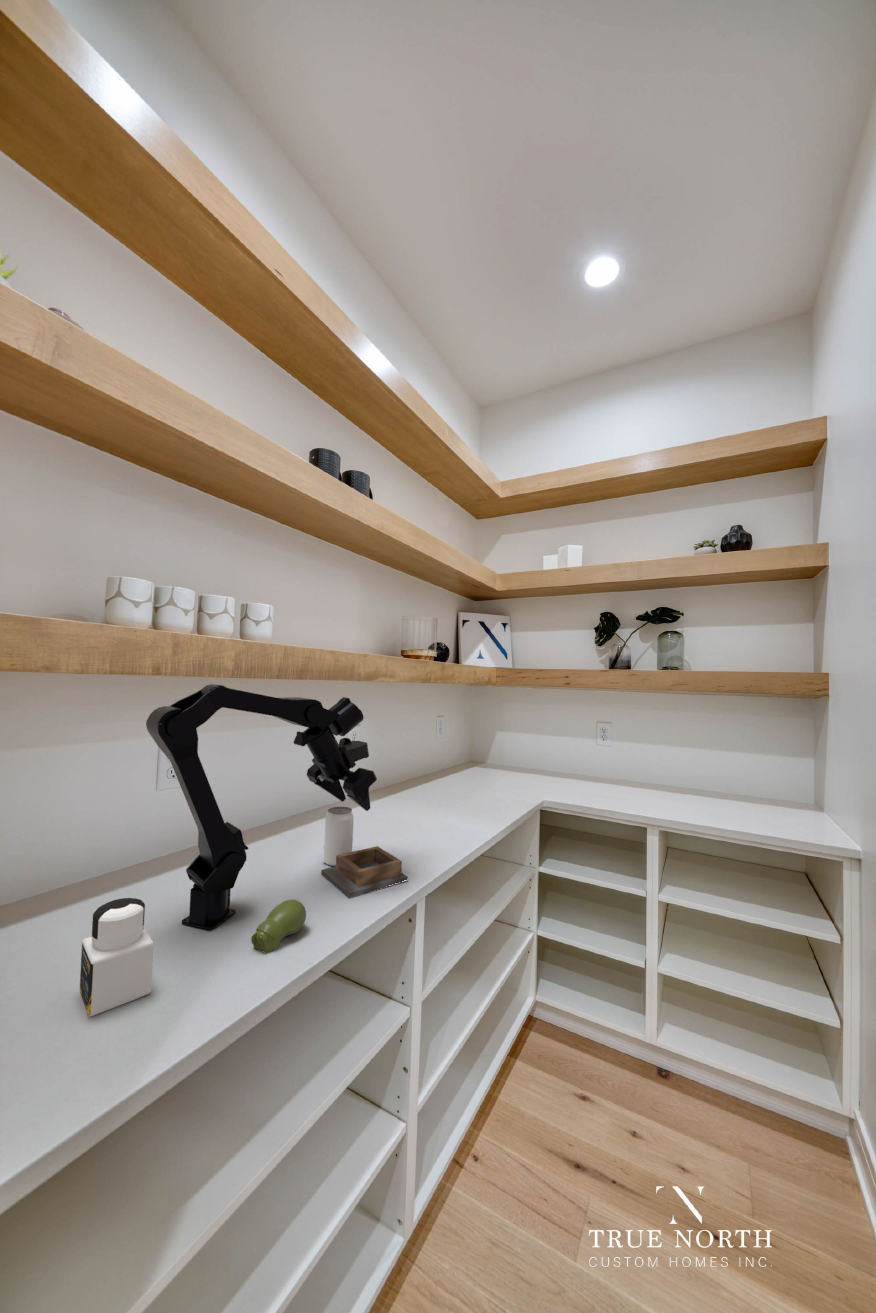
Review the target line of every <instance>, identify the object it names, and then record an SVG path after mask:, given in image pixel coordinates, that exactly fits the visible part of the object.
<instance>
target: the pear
mask: <svg viewBox="0 0 876 1313" xmlns="http://www.w3.org/2000/svg"><path fill="white" fill-rule="evenodd" d="M306 920H307V910H306V908H305V906H304V904H303V903H302V902H301V901H299V900H297V899H286V900H283V901H282V902H280V903H278V904H277V905H276V906H275V907H273V908H272V909H271V911H269V913H268V915H267V916H266V918H265V920H264V921H262V922H261V923H260V924H259V925H258V926H257V927H256V928H255V930H256V931H255V933H253V934H252V936H251V938H250V941H251V944H252V945H253V948H256V949H257V950H259V951H261V952H263V953H266V954H267V953H270V952H273V951H275V950H277V949H278V947H279V946H280V944H281V940H282V939H283V938H284V937H286V936H287V937H288V936H291V935H293V934H296V933H298V932H299V931H300V930H301V929H302V928H303V926H304V925H305V922H306Z"/></svg>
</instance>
